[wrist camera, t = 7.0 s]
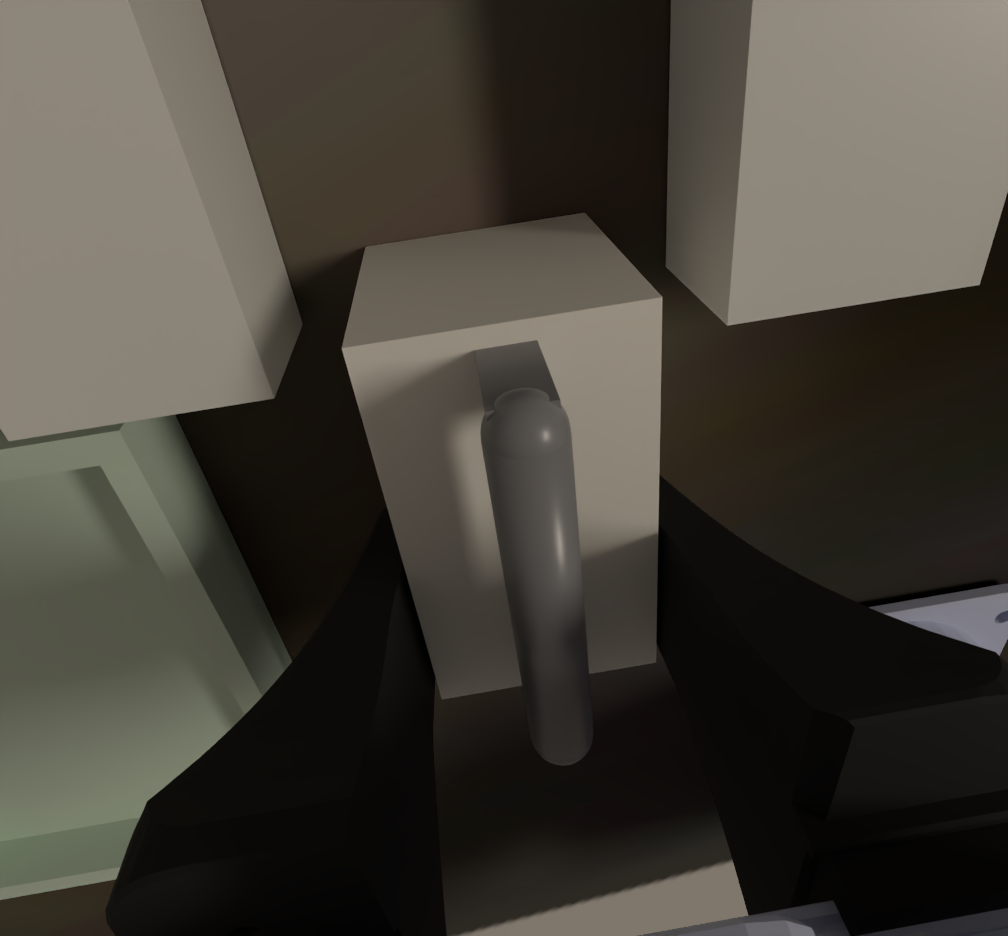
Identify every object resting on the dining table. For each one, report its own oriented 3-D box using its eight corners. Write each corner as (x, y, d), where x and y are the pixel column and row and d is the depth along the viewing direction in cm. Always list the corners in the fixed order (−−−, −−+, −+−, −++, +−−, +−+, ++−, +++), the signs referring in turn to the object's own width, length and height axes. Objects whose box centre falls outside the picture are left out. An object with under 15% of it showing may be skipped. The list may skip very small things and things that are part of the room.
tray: (345, 774, 20) (339, 839, 19) (-5, 835, 20) (-43, 907, 19) (158, 378, 13) (118, 430, 11) (-422, 470, 12) (-551, 538, 11)
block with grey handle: (599, 513, 16) (694, 763, 10) (435, 540, 16) (445, 807, 10) (584, 212, 12) (726, 366, 6) (365, 246, 12) (322, 431, 6)
